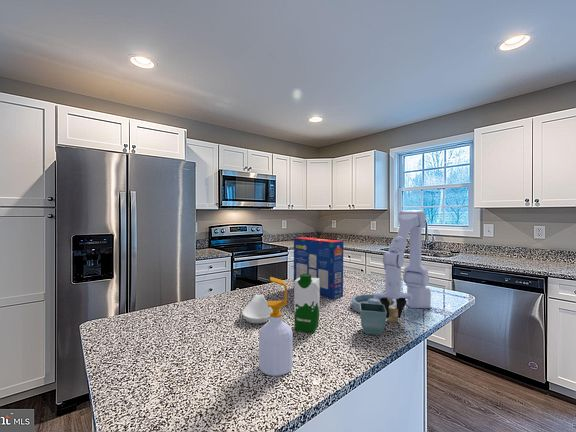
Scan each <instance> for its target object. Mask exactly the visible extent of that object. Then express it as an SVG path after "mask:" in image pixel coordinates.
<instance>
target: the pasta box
mask: <svg viewBox="0 0 576 432" xmlns="http://www.w3.org/2000/svg"><path fill="white" fill-rule="evenodd" d="M301 274H310V275H311V278H320V279H319V286H320V290H319V293H320V297H322V298H326V299H329V300H337V299H340V298H343V297H344V240H337V239H327V238H318V237H317V238H316V237H306V236H303V237H301V236H300V237H293V282H294V281H295V280H296V279H297V278H299V277H300V275H301Z"/></svg>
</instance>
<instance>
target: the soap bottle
mask: <svg viewBox="0 0 576 432" xmlns="http://www.w3.org/2000/svg"><path fill="white" fill-rule="evenodd" d="M269 281H270V282H271V283H275V284H278V285H281V286H283V287H284V297H283V299H282V300H268V301H267V303H268V307H271V309H272V312H271V313H270V318H269V321H267V322H265V324H263V325H262V326H261V328H260V330H259V332H258V336H259V337H258V341H259V342H258V347H259V348H258V360H259V361H258V367H259V371H261V372H262V374H265V375H267V376H273V377H279V376H284V375H286V374H287V373H290V372H291V370H292V368H293V330H292V327H291V326H290V325H289V324H288V323H286V322H285V321H283V313H282V312H281V311H280V309H282V308H283V307H286V306H287V303H288V288H287V287H288V286H287V284H286V282H285V281H284V280H283V279H279V278H276V277H272V276H270V277H269Z"/></svg>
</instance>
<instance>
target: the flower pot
mask: <svg viewBox="0 0 576 432" xmlns="http://www.w3.org/2000/svg"><path fill="white" fill-rule="evenodd" d="M359 305H360V313H359V316H360V325H361V328H362V330H363V332H364V334H365V335H375V336H380V335H381V334H382V333H383V331H384V329H385V327H386V321H387V318H386V315H387V311H386V309H385V306H384V305H383V304H370V303H359Z"/></svg>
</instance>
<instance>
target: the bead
mask: <svg viewBox="0 0 576 432" xmlns="http://www.w3.org/2000/svg"><path fill="white" fill-rule="evenodd" d="M386 321H387V322H389V323H393V324H394V323H398V322H399V318H398V308H397V307H393V306H389V318H386Z"/></svg>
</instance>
